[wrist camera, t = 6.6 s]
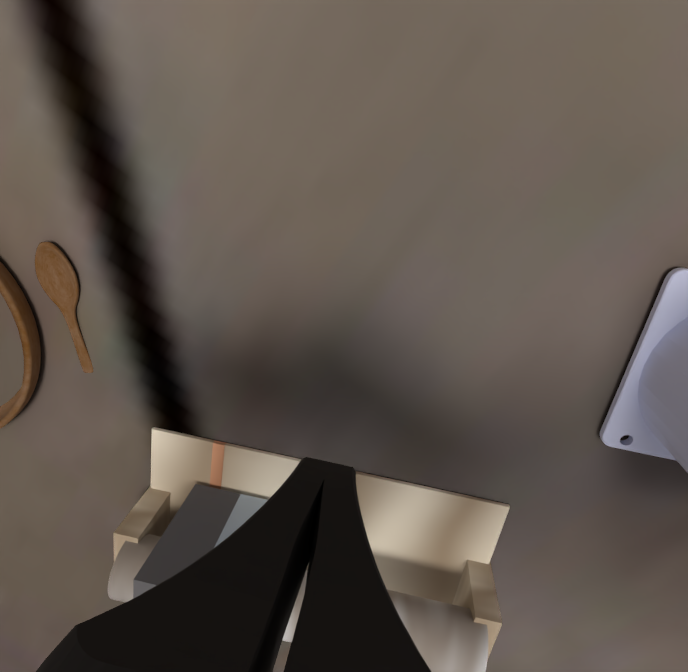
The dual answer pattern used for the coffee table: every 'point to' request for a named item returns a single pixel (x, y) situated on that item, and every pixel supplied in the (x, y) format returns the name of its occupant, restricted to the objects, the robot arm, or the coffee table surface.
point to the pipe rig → (382, 531)
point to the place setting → (63, 292)
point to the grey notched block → (187, 536)
